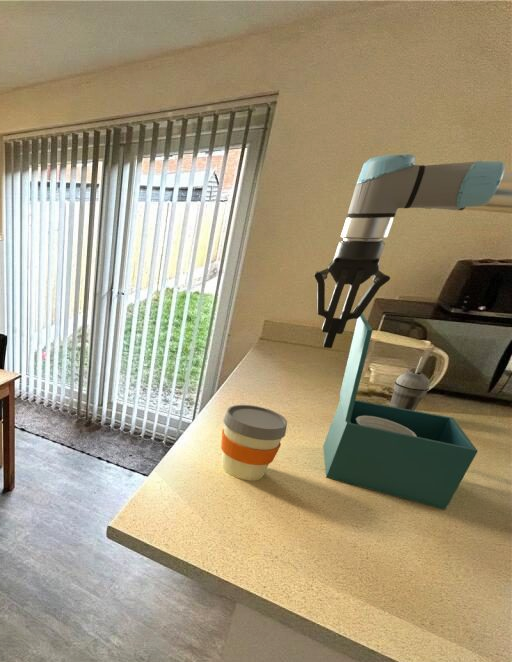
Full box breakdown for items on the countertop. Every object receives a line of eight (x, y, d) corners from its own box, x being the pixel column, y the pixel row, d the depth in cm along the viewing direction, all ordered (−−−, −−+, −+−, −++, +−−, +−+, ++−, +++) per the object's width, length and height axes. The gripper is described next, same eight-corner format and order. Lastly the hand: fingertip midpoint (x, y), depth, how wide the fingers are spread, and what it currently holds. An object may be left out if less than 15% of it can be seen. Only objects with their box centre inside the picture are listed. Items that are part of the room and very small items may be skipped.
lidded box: (426, 471, 95) (453, 417, 89) (445, 509, 83) (478, 450, 77) (323, 446, 106) (341, 397, 100) (326, 477, 94) (346, 423, 88)
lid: (363, 313, 92) (358, 313, 93) (372, 329, 80) (367, 329, 81) (343, 395, 100) (339, 395, 100) (349, 422, 87) (345, 421, 88)
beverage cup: (382, 421, 118) (408, 359, 110) (378, 412, 123) (403, 352, 115) (415, 428, 114) (445, 364, 106) (410, 418, 119) (438, 356, 111)
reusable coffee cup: (202, 459, 102) (213, 407, 96) (243, 452, 104) (256, 401, 98) (240, 489, 90) (255, 432, 84) (284, 480, 93) (302, 425, 87)
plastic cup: (398, 489, 88) (419, 443, 83) (337, 470, 95) (354, 427, 90) (398, 467, 95) (418, 424, 91) (341, 451, 102) (357, 410, 97)
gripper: (400, 239, 82) (361, 346, 91) (322, 238, 89) (293, 338, 98) (408, 241, 76) (365, 355, 86) (324, 240, 83) (293, 345, 92)
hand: (327, 346), depth 92 cm, fingers closed
